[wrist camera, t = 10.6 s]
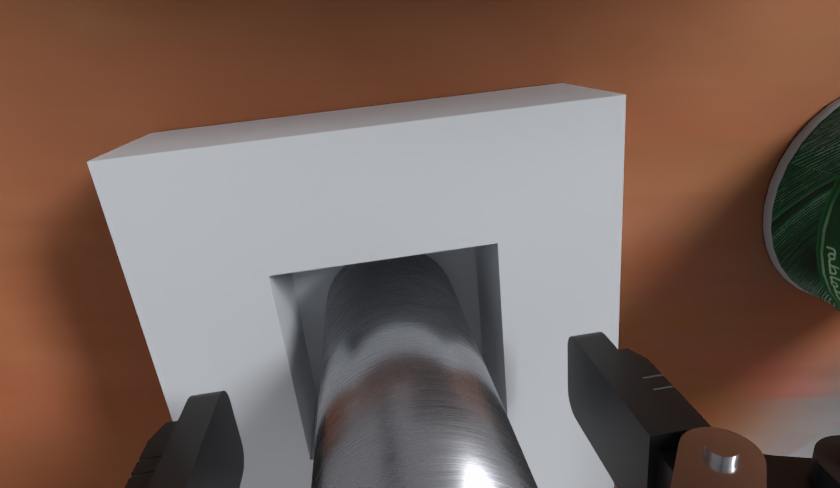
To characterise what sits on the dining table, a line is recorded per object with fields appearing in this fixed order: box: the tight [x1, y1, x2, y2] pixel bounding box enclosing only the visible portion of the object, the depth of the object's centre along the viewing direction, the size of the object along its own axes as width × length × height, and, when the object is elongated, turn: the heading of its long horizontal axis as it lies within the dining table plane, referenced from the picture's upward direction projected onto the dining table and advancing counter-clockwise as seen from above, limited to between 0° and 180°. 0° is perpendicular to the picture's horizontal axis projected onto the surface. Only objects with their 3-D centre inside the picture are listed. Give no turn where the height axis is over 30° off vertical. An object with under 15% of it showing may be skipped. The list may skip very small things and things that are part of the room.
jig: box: [87, 83, 626, 488], centre depth 16 cm, size 12×13×4 cm
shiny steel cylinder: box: [311, 254, 538, 488], centre depth 12 cm, size 4×4×10 cm
